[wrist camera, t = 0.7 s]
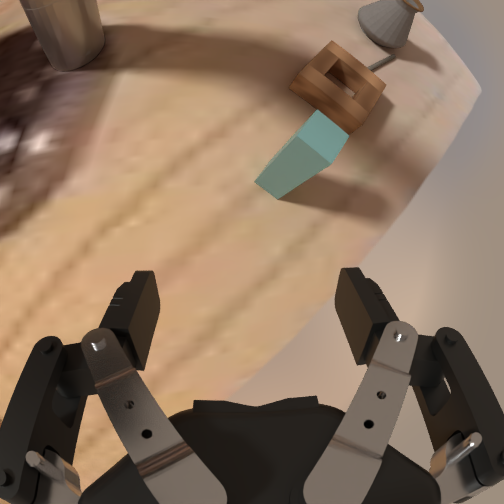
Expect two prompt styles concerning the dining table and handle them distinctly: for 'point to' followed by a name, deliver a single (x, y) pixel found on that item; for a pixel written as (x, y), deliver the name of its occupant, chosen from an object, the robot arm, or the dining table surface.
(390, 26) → the coffee pot
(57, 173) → the dining table surface
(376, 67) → the dark grey rod
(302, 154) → the peg
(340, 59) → the brown square slotted piece
